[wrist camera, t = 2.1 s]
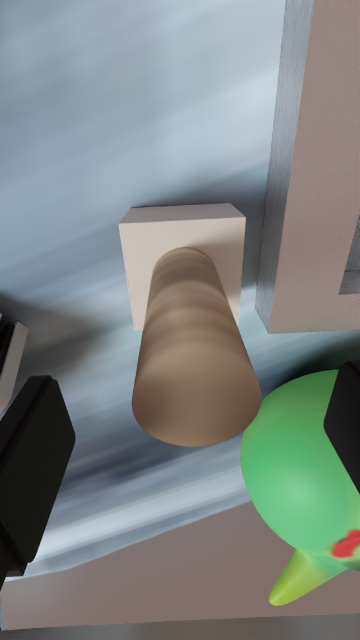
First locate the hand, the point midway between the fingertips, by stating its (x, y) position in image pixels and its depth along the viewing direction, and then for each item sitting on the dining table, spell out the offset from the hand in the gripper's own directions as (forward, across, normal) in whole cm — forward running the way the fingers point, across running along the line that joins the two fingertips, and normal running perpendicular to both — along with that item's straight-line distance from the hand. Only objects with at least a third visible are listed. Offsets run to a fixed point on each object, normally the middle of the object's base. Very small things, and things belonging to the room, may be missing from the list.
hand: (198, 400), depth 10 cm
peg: (+9, 0, -1) cm, 9 cm away
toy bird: (+15, -13, +16) cm, 26 cm away
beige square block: (+14, 0, -1) cm, 14 cm away
